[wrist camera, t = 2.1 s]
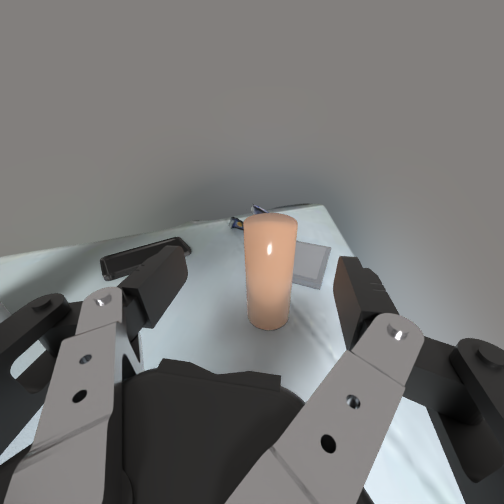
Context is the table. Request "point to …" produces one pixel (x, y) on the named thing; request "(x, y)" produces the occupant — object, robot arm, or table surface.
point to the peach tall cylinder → (269, 268)
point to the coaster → (310, 264)
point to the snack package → (238, 223)
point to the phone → (136, 258)
